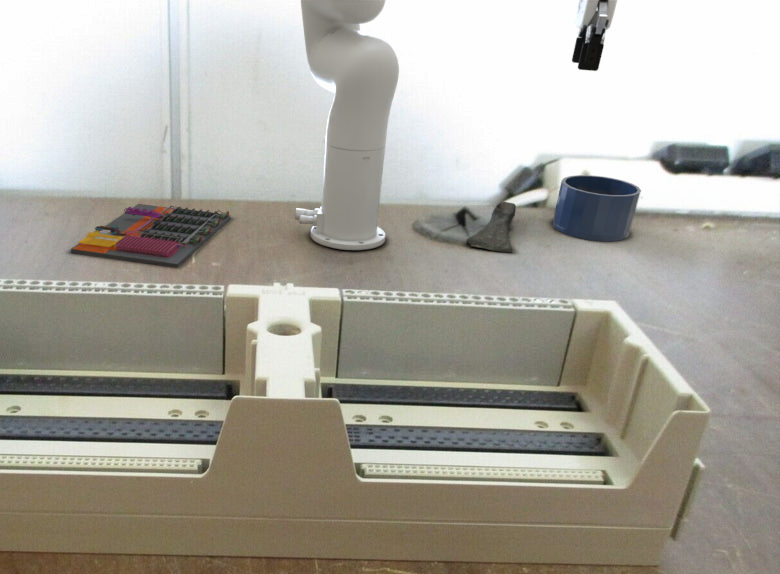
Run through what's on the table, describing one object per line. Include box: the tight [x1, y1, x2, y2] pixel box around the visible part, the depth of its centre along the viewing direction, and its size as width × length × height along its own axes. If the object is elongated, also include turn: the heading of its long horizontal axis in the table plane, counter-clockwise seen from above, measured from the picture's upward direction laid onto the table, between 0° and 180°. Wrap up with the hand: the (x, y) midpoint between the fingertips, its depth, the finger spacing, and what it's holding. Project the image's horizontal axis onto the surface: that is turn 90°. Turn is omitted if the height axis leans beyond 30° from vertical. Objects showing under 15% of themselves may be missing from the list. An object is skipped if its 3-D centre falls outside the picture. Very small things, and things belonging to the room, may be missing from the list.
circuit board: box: [70, 203, 231, 268], centre depth 126 cm, size 25×18×3 cm
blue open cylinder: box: [552, 174, 642, 242], centre depth 137 cm, size 13×13×8 cm
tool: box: [465, 201, 517, 254], centre depth 134 cm, size 21×8×3 cm, turn 160°
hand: (584, 66), depth 130 cm, fingers open, 9 cm apart
